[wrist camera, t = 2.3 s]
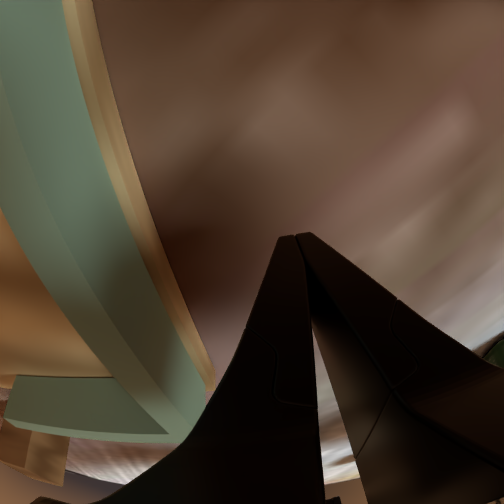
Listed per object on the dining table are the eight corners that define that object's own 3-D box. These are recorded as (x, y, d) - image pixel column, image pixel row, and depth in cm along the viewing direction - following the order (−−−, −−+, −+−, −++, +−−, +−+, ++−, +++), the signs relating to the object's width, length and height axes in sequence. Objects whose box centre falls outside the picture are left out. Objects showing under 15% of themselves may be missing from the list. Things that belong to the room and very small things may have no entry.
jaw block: (71, 429, 22) (62, 486, 17) (41, 424, 22) (31, 478, 18) (38, 403, 19) (24, 468, 14) (9, 399, 19) (-6, 458, 15)
